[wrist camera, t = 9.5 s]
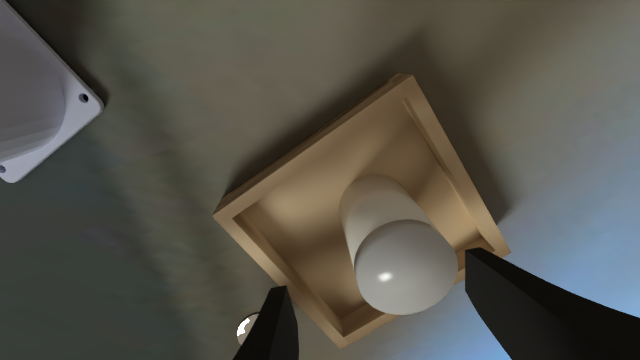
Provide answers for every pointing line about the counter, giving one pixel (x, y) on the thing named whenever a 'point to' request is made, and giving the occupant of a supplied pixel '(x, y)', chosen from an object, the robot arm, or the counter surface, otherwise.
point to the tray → (325, 194)
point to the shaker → (395, 247)
